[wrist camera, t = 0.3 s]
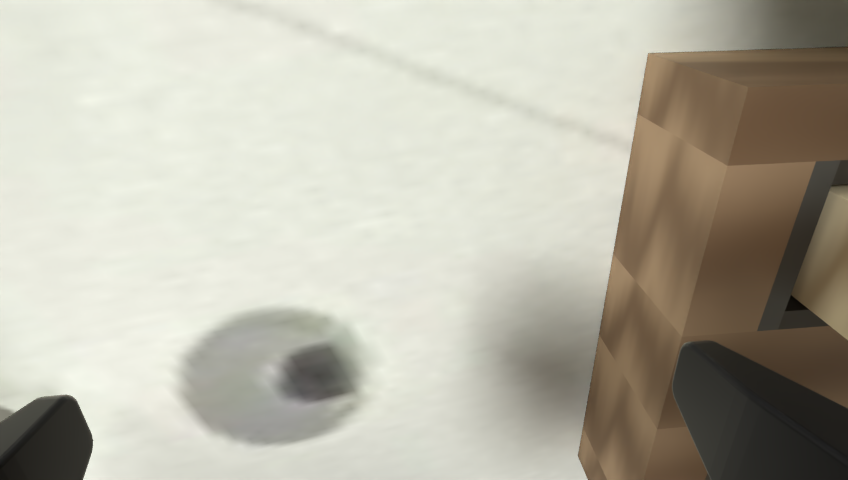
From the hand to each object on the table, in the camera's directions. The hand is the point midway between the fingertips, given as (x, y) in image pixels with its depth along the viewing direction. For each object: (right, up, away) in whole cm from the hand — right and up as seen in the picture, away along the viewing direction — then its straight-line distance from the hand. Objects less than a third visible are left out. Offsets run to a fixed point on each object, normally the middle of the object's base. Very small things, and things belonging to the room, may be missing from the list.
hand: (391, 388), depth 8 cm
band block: (+15, 0, +18) cm, 23 cm away
